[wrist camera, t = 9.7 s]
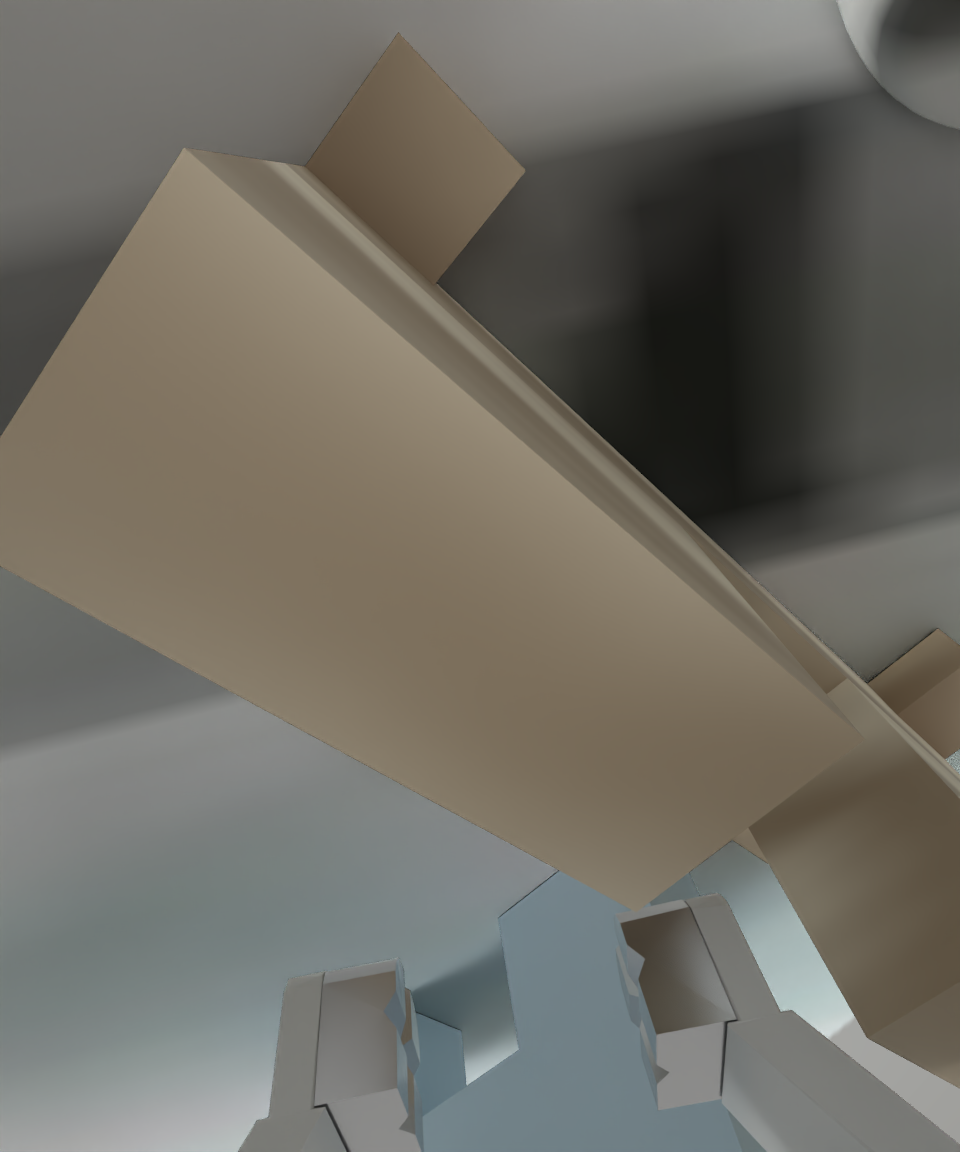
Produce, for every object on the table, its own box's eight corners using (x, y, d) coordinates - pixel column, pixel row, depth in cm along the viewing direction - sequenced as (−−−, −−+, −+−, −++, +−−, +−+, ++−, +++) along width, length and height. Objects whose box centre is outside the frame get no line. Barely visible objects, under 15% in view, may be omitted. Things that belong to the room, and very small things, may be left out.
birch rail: (763, 839, 17) (975, 1205, 11) (140, 412, 11) (-185, 730, 4) (982, 676, 15) (1377, 1003, 9) (396, 47, 9) (433, -241, 3)
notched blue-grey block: (366, 1100, 21) (361, 1486, 14) (295, 1076, 20) (256, 1481, 13) (686, 866, 17) (853, 1241, 11) (620, 823, 16) (764, 1211, 10)
